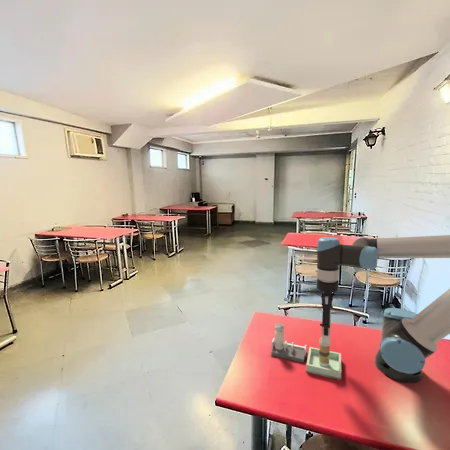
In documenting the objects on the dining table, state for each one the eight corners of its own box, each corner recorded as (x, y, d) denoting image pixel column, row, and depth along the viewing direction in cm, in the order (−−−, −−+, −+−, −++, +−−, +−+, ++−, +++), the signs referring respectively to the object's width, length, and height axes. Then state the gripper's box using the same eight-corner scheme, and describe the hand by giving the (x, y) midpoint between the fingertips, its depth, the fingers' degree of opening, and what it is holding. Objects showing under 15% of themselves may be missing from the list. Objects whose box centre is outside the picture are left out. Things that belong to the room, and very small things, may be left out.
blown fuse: (329, 362, 104) (330, 338, 103) (329, 368, 101) (330, 343, 99) (319, 359, 106) (319, 336, 104) (318, 365, 102) (319, 341, 101)
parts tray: (340, 360, 106) (340, 353, 106) (340, 380, 96) (341, 372, 95) (309, 353, 111) (309, 346, 111) (306, 372, 100) (306, 364, 100)
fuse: (284, 346, 114) (285, 324, 112) (282, 351, 110) (283, 329, 109) (275, 344, 115) (276, 322, 114) (273, 349, 112) (274, 327, 110)
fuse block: (306, 351, 112) (307, 341, 112) (304, 363, 105) (305, 352, 104) (274, 344, 118) (274, 335, 117) (270, 355, 110) (270, 345, 110)
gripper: (319, 268, 111) (318, 316, 114) (314, 290, 88) (313, 349, 91) (338, 270, 108) (337, 319, 111) (338, 293, 85) (337, 354, 88)
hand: (326, 333), depth 101 cm, fingers open, 13 cm apart
